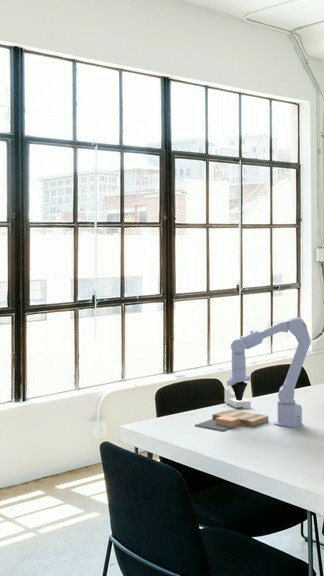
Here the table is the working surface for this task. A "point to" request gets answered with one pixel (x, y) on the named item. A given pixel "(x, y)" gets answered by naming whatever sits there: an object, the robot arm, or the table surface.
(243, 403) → the bracket
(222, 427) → the mat
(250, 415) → the board
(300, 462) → the table surface
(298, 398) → the table surface
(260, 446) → the table surface
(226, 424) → the block
